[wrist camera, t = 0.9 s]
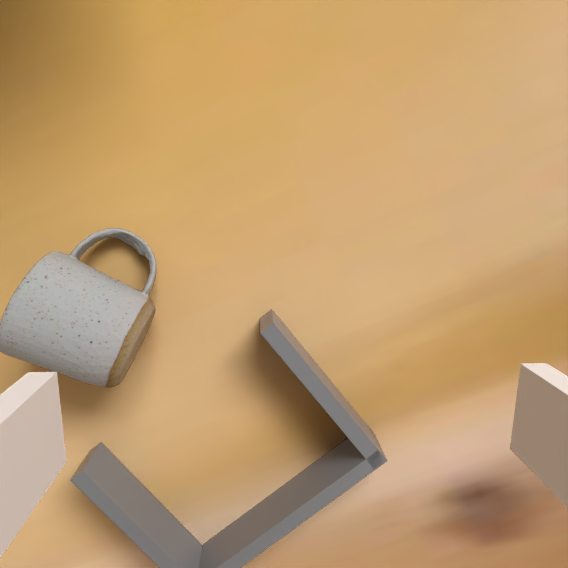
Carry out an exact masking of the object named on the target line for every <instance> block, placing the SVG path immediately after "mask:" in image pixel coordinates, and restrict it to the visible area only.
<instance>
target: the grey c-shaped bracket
mask: <svg viewBox="0 0 568 568" xmlns="http://www.w3.org/2000/svg"><path fill="white" fill-rule="evenodd" d="M260 333H261V335H262V336H263V337H264V338H265V339H266V341H267V342H268V343H269V344H270V345H271V347H272V348H273V349H274V350H275V351H276V352H277V354H278V355H279V356H280V357H281V358H282V360H283V361H284V362H285V363H286V364H287V366H288V367H289V368H290V369H291V370H292V372H293V373H294V374H295V375H296V376H297V378H298V379H299V380H300V381H301V382H302V383H303V385H304V386H305V387H306V388H307V389H308V391H309V392H310V393H311V394H312V395H313V397H314V398H315V399H316V400H317V401H318V403H319V404H320V405H321V406H322V407H323V409H324V410H325V411H326V412H327V413H328V414H329V416H330V417H331V418H332V419H333V420H334V422H335V423H336V424H337V425H338V426H339V428H340V429H341V430H342V431H343V432H344V434H345V435H346V436H347V437H348V438H347V439H346V440H344V441H343V442H341V443H340V444H339V445H337V446H336V447H335V448H333V449H332V450H331V451H329V452H328V453H327V454H325V455H324V456H323V457H321V458H320V459H318V460H317V461H316V462H314V463H313V464H312V465H310V466H309V467H308V468H306V469H305V470H304V471H302V472H301V473H299V474H298V475H297V476H295V477H294V478H293V479H291V480H290V481H289V482H287V483H286V484H285V485H283V486H282V487H281V488H279V489H278V490H276V491H275V492H274V493H272V494H271V495H270V496H268V497H267V498H266V499H264V500H263V501H262V502H260V503H259V504H257V505H256V506H255V507H253V508H252V509H251V510H249V511H248V512H247V513H245V514H244V515H243V516H241V517H240V518H239V519H237V520H236V521H234V522H233V523H232V524H230V525H229V526H228V527H226V528H225V529H224V530H222V531H221V532H220V533H218V534H217V535H215V536H214V537H213V538H211V539H210V540H209V541H207V542H206V543H205V544H203V545H201V544H200V542H199V541H198V540H197V539H196V538H195V537H194V536H193V535H192V534H191V533H190V532H189V531H188V530H187V529H186V528H185V527H184V526H183V525H182V524H181V523H180V522H179V521H178V520H177V519H176V518H175V517H174V516H173V515H172V514H171V513H170V512H169V511H168V510H167V509H166V508H165V507H164V506H163V505H162V504H161V503H160V502H159V501H158V500H157V499H156V498H155V497H154V496H153V495H152V494H151V493H150V492H149V491H148V489H147V488H146V487H145V486H144V485H143V484H142V483H141V482H140V481H139V480H138V479H137V478H136V477H135V476H134V475H133V474H132V473H131V472H130V471H129V470H128V469H127V468H126V467H125V466H124V465H123V464H122V463H121V462H120V461H119V460H118V459H117V458H116V457H115V456H114V455H113V454H112V453H111V452H110V451H109V450H108V449H107V448H106V447H105V446H104V445H103V444H102V443H99V444H98V445H97V446H96V447H94V448H93V449H92V450H90V452H89V453H88V455H87V456H86V458H85V459H84V461H83V462H82V463H81V465H80V466H79V468H78V469H77V471H76V472H75V474H74V475H73V477H72V478H71V481H72V482H73V483H74V484H75V485H76V486H77V487H78V488H79V489H80V490H81V491H82V492H83V493H84V494H85V495H86V496H87V497H88V498H89V499H90V500H91V501H92V502H93V503H94V504H95V505H96V506H97V507H98V508H99V509H100V510H101V511H102V512H103V513H104V514H105V515H106V516H107V517H108V518H109V519H110V520H111V521H112V522H113V523H114V524H115V525H116V526H117V527H118V528H120V529H121V530H122V531H123V532H124V533H125V534H126V535H127V536H128V537H129V538H130V539H131V540H132V541H133V542H134V543H135V544H136V545H137V546H138V547H139V548H140V549H141V550H142V551H143V552H144V553H145V554H146V555H147V556H148V557H149V558H150V559H151V560H152V561H153V562H154V563H155V564H156V565H157V566H158V567H159V568H241V567H242V566H244V565H245V564H246V563H248V562H249V561H250V560H252V559H253V558H255V557H256V556H257V555H259V554H260V553H261V552H263V551H264V550H266V549H267V548H268V547H270V546H271V545H272V544H274V543H275V542H277V541H278V540H279V539H281V538H282V537H283V536H285V535H286V534H288V533H289V532H290V531H292V530H293V529H294V528H296V527H297V526H299V525H300V524H301V523H303V522H304V521H305V520H307V519H308V518H310V517H311V516H312V515H314V514H315V513H316V512H318V511H319V510H321V509H322V508H323V507H325V506H326V505H327V504H329V503H330V502H332V501H333V500H334V499H336V498H337V497H338V496H340V495H341V494H343V493H344V492H345V491H347V490H348V489H349V488H351V487H352V486H354V485H355V484H356V483H358V482H359V481H360V480H362V479H363V478H365V477H366V476H367V475H369V474H370V473H371V472H373V471H374V470H376V469H377V468H378V467H380V466H381V465H382V464H384V463H385V462H387V459H386V457H385V455H384V453H383V451H382V449H381V446H380V444H379V442H378V440H377V438H376V436H375V434H374V433H373V432H372V430H371V429H370V428H369V427H368V426H367V424H366V423H365V422H364V421H363V419H362V418H361V417H360V416H359V415H358V413H357V412H356V411H355V410H354V409H353V407H352V406H351V405H350V404H349V402H348V401H347V400H346V399H345V398H344V396H343V395H342V394H341V393H340V391H339V390H338V389H337V388H336V387H335V385H334V384H333V383H332V382H331V381H330V379H329V378H328V377H327V376H326V374H325V373H324V372H323V371H322V370H321V368H320V367H319V366H318V365H317V363H316V362H315V361H314V360H313V359H312V357H311V356H310V355H309V354H308V353H307V351H306V350H305V349H304V348H303V346H302V345H301V344H300V343H299V342H298V340H297V339H296V338H295V337H294V336H293V334H292V333H291V332H290V331H289V329H288V328H287V327H286V326H285V325H284V323H283V322H282V321H281V320H280V318H279V317H278V316H277V315H276V314H275V312H274V311H273V310H272V309H271V310H270V311H269V312H268V313H266V314H265V315H264V316H262V317H261V318H260Z"/></svg>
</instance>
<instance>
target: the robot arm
mask: <svg viewBox="0 0 568 568" xmlns="http://www.w3.org/2000/svg"><path fill="white" fill-rule="evenodd" d="M510 449H511V450H512V452H513V453H514V454H515V455H516V456H517V457H518V458H519V459H520V460H521V461H522V462H523V463H524V464H525V465H526V466H527V467H528V468H529V469H530V470H531V471H532V472H533V473H534V474H535V475H536V476H537V477H538V478H539V479H540V480H541V481H542V482H543V483H544V484H545V485H546V486H547V487H548V488H549V489H550V491H551V492H552V493H553V494H554V495H555V496H556V497H557V498H558V499H559V500H560V501H561V502H562V503H563V504H564V505H565V506H566V507H567V508H568V376H566V375H564V374H563V373H561V372H560V371H558V370H556V369H555V368H553V367H551V366H550V365H548V364H546V363H536V364H521V366H520V374H519V382H518V389H517V397H516V405H515V413H514V421H513V429H512V436H511V444H510ZM66 462H67V461H66V452H65V442H64V433H63V424H62V414H61V405H60V395H59V386H58V377H57V372H28V373H26V374H25V375H24V376H23V377H22V378H20V379H19V380H18V381H17V382H15V383H14V384H13V385H12V386H10V387H9V388H8V389H7V390H5V391H4V392H3V393H2V394H1V395H0V558H1V556H2V555H3V553H4V552H5V551H6V549H7V548H8V546H9V545H10V543H11V542H12V540H13V539H14V538H15V536H16V535H17V533H18V532H19V530H20V529H21V527H22V526H23V524H24V523H25V522H26V520H27V519H28V517H29V516H30V514H31V513H32V511H33V510H34V508H35V507H36V506H37V504H38V503H39V501H40V500H41V498H42V497H43V495H44V494H45V493H46V491H47V490H48V488H49V487H50V485H51V484H52V482H53V481H54V479H55V478H56V477H57V475H58V474H59V472H60V471H61V469H62V468H63V466H64V465H65V464H66Z"/></svg>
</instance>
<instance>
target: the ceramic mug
mask: <svg viewBox="0 0 568 568" xmlns="http://www.w3.org/2000/svg"><path fill="white" fill-rule="evenodd" d="M110 237H113V238H118V239H120V240H122V241H123V242H125V243H127V244H129V245H131V246H132V247H133V248H135V249H136V250H137V251H138V253H139V254H140V255H142V256H145V257H146V258H147V259H148V260H149V264H150V274H149V277H148V281H147V284H146V285H145V288H144V289H143V290H142V291H138V290H136V289H134V288H132V287H130V286H128V285H126V284H124V283H122V282H120V281H119V280H115V279H113V278H111V277H109V276H107V275H105V274H103V273H102V272H100V271H98V270H96V269H94V268H92V267H90V266H88V265H86V264H84V263H82V262H80V261H78V260H79V258H80V257H81V256H82V254H83V253H84V252H85V251H86V250H87V249H88V248H89V247H91V246H92V245H94V244H95V243H96V242H98V241H100V240H103V239H106V238H110ZM155 276H156V260H155V257H154V254H153V252H152V250H151V248H150V247H149V245H148V244H147V243H146V242H145V241H144V240H142V239H141V238H140V237H139V236H137V235H135V234H134V233H132V232H130V231H127V230H124V229H120V228H108V229H104V230H101V231H98V232H96V233H93V234H91V235H90V236H88V237H87V238H86V239H84V240H83V241H82V242H81V243H79V244H78V245H77V246H76V248H75V249H74V250H73V251H72V252H71V254H69V255H66V254H64V253H62V252H56V251H55V252H51V253H49V254H47V255H46V256H44V257H43V258H42V259H41V260H39V261H38V262H37V263H36V264H35V265H34V267H33V268H32V269H31V270H30V271H29V272H28V273H27V275H26V276H25V277H24V278H23V280H22V282H21V284H20V285H19V286H18V288H17V289H16V290H15V292H14V294H13V296H12V297H11V299H10V301H9V303H8V305H7V307H6V309H5V311H4V313H3V316H2V319H1V322H0V351H1V352H2V353H4V354H6V355H9V356H12V357H15V358H18V359H21V360H24V361H26V362H29V363H32V364H35V365H38V366H40V367H43V368H46V369H49V370H51V371H54V372H58V373H61V374H64V375H66V376H69V377H71V378H74V379H77V380H79V381H82V382H85V383H88V384H92V385H97V386H103V387H113V386H116V385H118V384H119V383H120V382H121V381H122V379H123V378H124V376H125V375H126V373H127V371H128V369H129V368H130V366H131V364H132V362H133V360H134V358H135V356H136V354H137V352H138V350H139V348H140V346H141V344H142V342H143V340H144V338H145V335H146V333H147V331H148V329H149V326H150V324H151V322H152V319H153V317H154V314H155V306H154V303H153V301H152V300H151V299H150V298H149V297H148V295H149V293H150V291H151V290H152V287H153V285H154V280H155Z"/></svg>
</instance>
